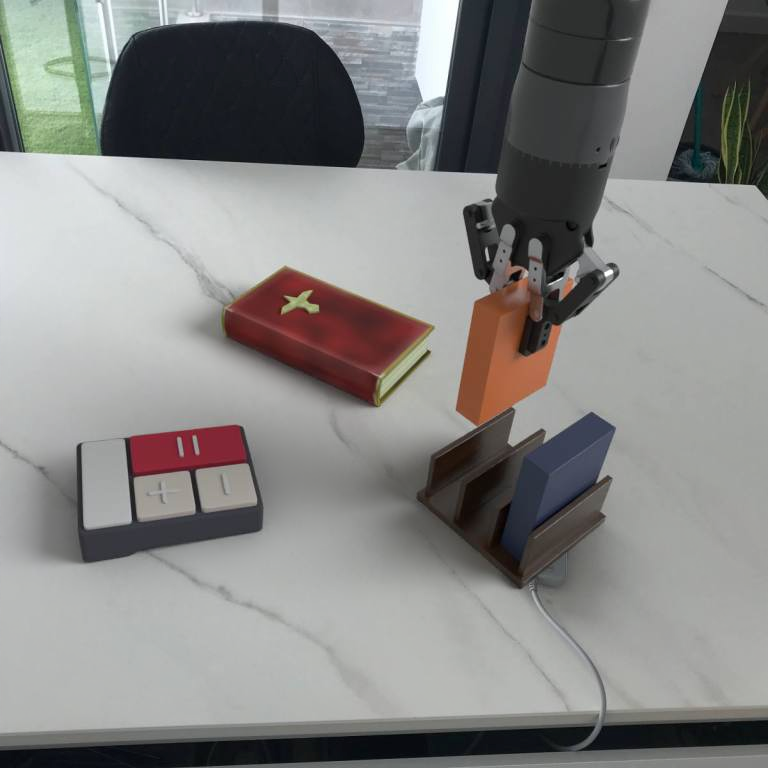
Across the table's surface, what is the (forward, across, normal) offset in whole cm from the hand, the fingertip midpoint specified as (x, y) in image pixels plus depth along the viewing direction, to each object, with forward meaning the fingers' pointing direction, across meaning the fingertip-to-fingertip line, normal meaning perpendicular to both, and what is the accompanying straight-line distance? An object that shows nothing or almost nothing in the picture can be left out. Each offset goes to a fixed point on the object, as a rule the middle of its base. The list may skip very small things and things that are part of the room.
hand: (514, 341), depth 63 cm
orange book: (+6, 0, 0) cm, 6 cm away
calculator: (+18, -16, -24) cm, 34 cm away
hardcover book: (+18, -26, +2) cm, 32 cm away
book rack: (+18, +4, 0) cm, 18 cm away
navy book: (+17, +7, 0) cm, 18 cm away
